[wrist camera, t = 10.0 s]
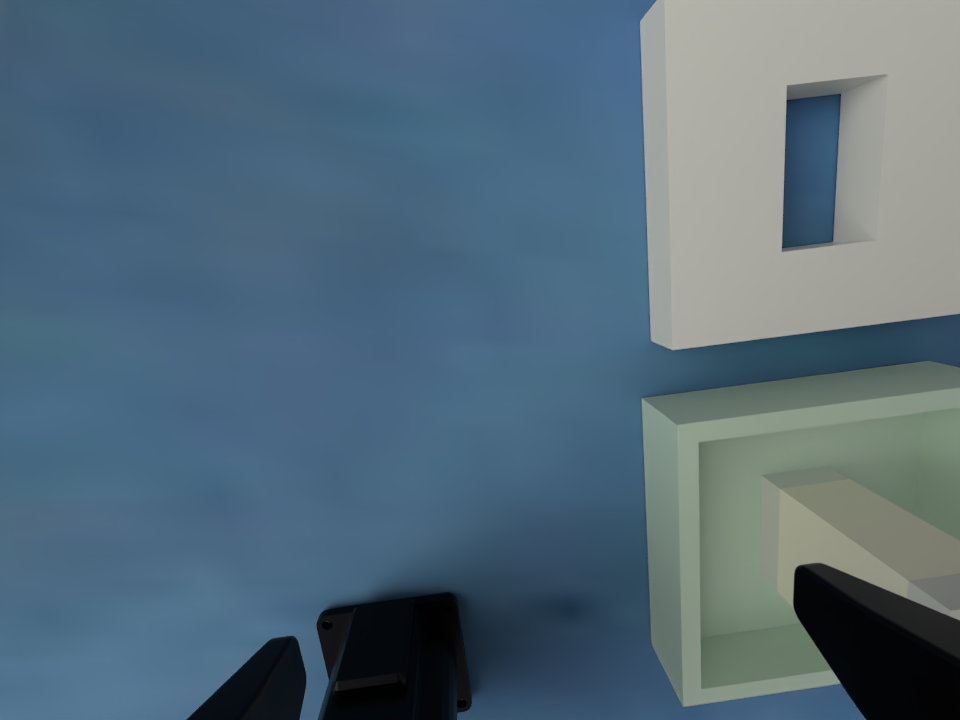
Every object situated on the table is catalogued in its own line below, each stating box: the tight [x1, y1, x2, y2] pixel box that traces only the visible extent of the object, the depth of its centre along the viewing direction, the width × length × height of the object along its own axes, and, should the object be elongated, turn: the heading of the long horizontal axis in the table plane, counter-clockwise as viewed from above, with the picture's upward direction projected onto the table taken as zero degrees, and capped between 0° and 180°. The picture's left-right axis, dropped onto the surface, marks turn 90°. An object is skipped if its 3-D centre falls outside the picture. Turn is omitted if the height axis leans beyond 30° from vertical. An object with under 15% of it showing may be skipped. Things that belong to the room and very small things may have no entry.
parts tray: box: [642, 361, 960, 707], centre depth 20 cm, size 13×13×3 cm
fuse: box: [760, 466, 960, 620], centre depth 17 cm, size 5×3×8 cm, turn 7°
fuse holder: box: [640, 0, 960, 350], centre depth 17 cm, size 12×12×2 cm
